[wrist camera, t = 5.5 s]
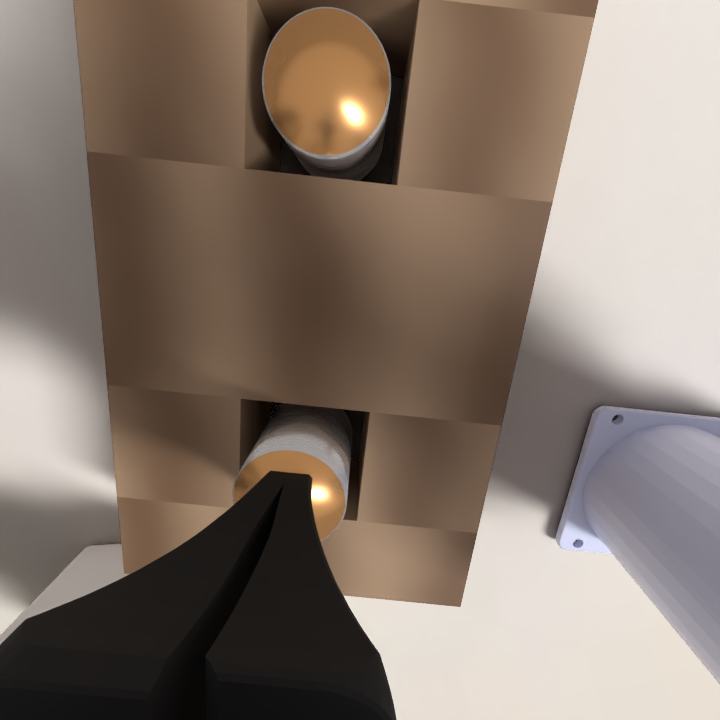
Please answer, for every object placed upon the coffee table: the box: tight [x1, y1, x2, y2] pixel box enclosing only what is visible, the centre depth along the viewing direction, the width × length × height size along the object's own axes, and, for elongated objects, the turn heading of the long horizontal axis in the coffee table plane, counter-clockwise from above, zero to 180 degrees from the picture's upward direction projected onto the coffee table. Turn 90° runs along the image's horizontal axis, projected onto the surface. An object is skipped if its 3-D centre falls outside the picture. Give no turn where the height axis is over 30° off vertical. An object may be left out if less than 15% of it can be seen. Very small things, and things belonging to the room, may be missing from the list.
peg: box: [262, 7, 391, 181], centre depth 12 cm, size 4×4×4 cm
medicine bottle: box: [0, 544, 129, 644], centre depth 15 cm, size 7×7×12 cm
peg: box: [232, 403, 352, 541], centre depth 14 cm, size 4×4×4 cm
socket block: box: [73, 0, 598, 607], centre depth 14 cm, size 14×24×4 cm, turn 174°
